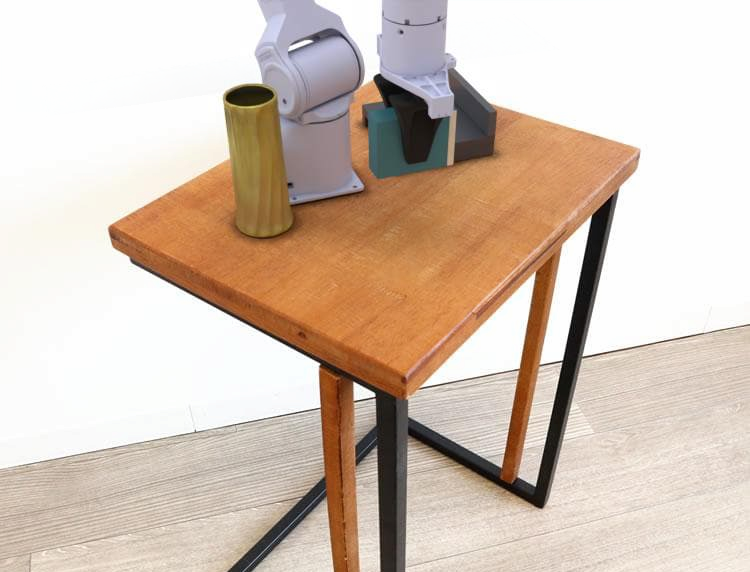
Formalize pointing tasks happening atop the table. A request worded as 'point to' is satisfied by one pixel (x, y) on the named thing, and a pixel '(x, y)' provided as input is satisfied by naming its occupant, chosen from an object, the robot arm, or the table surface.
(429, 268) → the table surface
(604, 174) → the table surface
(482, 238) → the table surface
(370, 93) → the table surface
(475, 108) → the grey corner tray
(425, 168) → the book
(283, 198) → the vase
